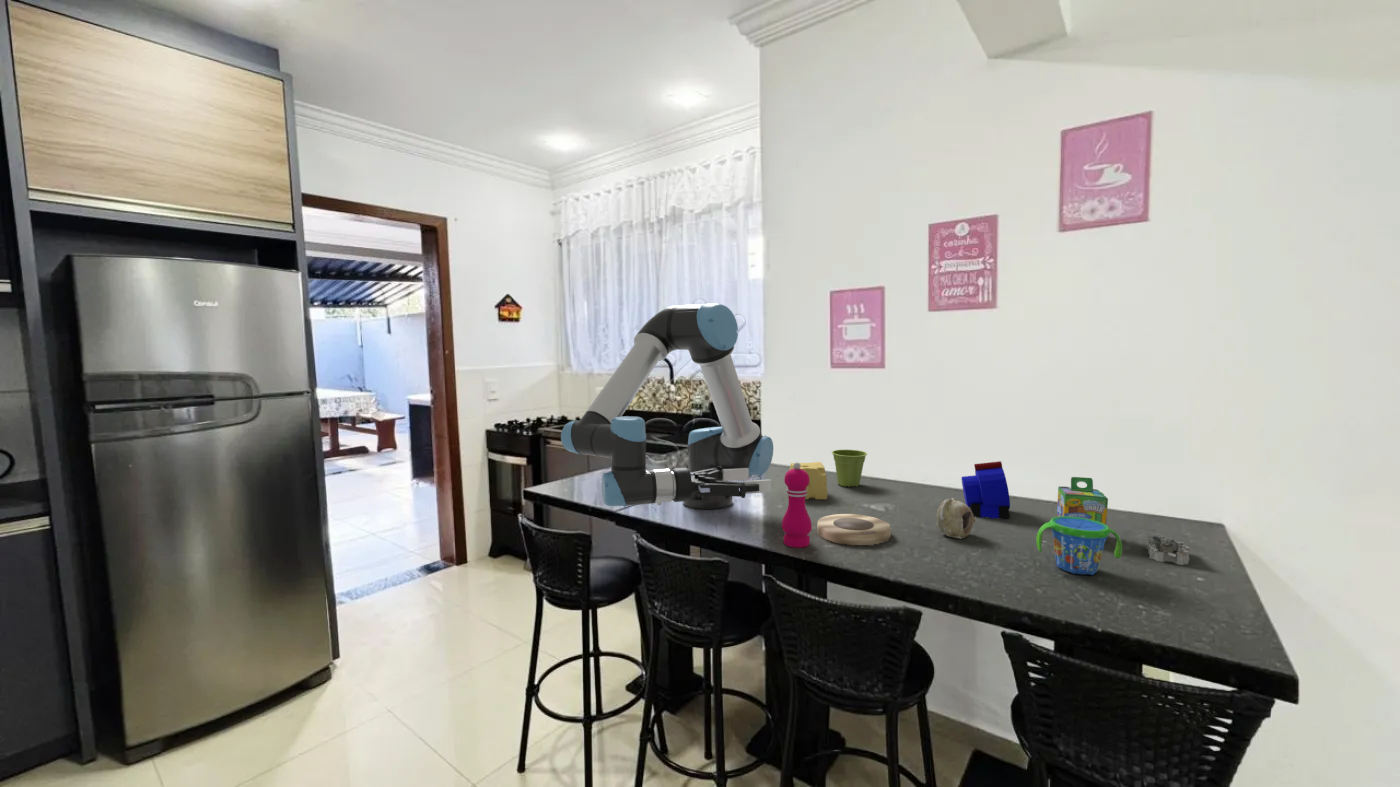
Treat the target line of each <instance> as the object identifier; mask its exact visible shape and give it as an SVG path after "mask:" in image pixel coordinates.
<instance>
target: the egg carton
mask: <svg viewBox="0 0 1400 787" xmlns="http://www.w3.org/2000/svg"><path fill="white" fill-rule="evenodd" d="M1145 540H1146V550H1147V553H1148V555H1149V559H1151V560H1154V561H1156V562H1161V563H1163V562H1169V563H1174V564H1175V565H1180V566H1184V565H1189V562H1190V555H1189V553H1188V552H1190V546H1188V545H1185V543H1184V542H1183V541H1182V540H1179V541H1175V540H1174V539H1173V538H1172V537H1171V538H1168V537H1165V536H1160V535H1158V536H1157V535H1154V534H1152V533H1147V534H1146V538H1145ZM1173 552H1176V553H1173Z"/></svg>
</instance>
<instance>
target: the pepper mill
mask: <svg viewBox="0 0 1400 787" xmlns="http://www.w3.org/2000/svg"><path fill="white" fill-rule="evenodd" d="M793 463H794V465H793V467H794V469H791V470H788V471H787V472H785V475H784V478H783V480H784V484H785V485H786V487H787V488H786V492H785V493H786V495H787V497H788V503H787V504H788V505H787V509H786V511H785V513H784V516H783V518H782V521H781V528H782V531H783V532H784V535H783V544H784V545H785V546H787V547H790V548H796V549H797V548H798V549H799V548H801V549H802V548H806V547H808V546H810V544H811V543H810V539H811V538H810V535H809V534H810V532H811V531H812V529H813V527H812V526H813V525H812V521H811V518H810V515H809V513H808V511H807V507H806V499H805V496H806V495H807V489H806V487H807V486H808V484H809V481H810V480H809V475H808V473H807V472H806V471H804V470H802V469H800V467H801V465H800V463H801V462H797V461H796V462H793Z"/></svg>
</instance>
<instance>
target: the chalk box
mask: <svg viewBox="0 0 1400 787" xmlns="http://www.w3.org/2000/svg"><path fill="white" fill-rule="evenodd" d="M1093 480H1094V479H1093V478H1092V477H1081V476H1072V477H1070V486H1058V488H1057V489H1058V490H1057V491H1058V492H1057V504H1056V505H1057V508H1056V517H1060V516H1069V517H1079V518H1085V519H1090V520H1094V521H1098V522H1101V523H1103V524H1105V525H1107V520H1108V517H1107V516H1108V505H1109V504H1108V503H1109V498H1108V497H1107V496H1105V494H1104V493H1103V492H1102V491H1100V490H1099V489H1097V488H1094V481H1093ZM1080 482H1081V483H1084V484H1086V487H1080V486H1078V483H1080Z"/></svg>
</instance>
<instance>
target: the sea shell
mask: <svg viewBox="0 0 1400 787" xmlns="http://www.w3.org/2000/svg"><path fill="white" fill-rule="evenodd" d="M976 521H977V517H974V516H973V513H972V511H971V509H970V508H969V507H968V506H967V505H966V503H964V502H963V501H960V500H958V499H957V498H954V497H951V498H946V499H945V500H943V501H942V502H940V504H939V505H938V508H937V509H936V524H935V526H936V529H937V530H939V531H941V532H942V533H944V534H945V535H946V537H950V538H953V539H954V538H955V539H962V538H966V537H968V536H969V535H970V533H971V531H972V529H973V527H974V524H975V523H976ZM962 540H963V539H962Z"/></svg>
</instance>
